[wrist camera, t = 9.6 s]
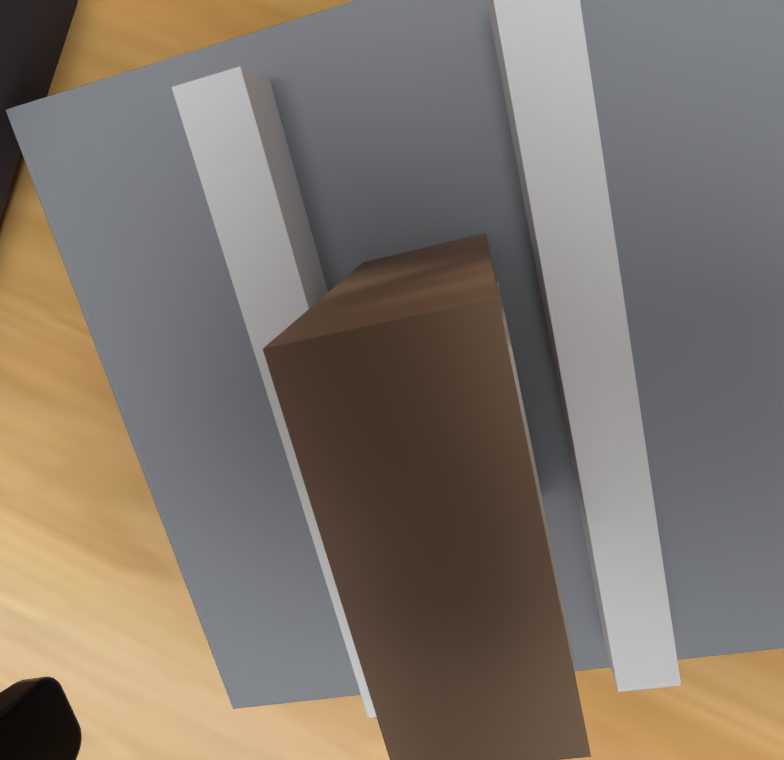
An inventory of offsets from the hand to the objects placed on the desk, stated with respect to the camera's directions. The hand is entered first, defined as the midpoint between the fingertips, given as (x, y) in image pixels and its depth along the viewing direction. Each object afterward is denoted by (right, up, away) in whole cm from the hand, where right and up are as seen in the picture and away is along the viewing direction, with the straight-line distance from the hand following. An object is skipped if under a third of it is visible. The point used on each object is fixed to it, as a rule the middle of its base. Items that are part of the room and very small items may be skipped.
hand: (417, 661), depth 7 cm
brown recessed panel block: (+1, +3, +9) cm, 10 cm away
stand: (+1, +3, +11) cm, 11 cm away
